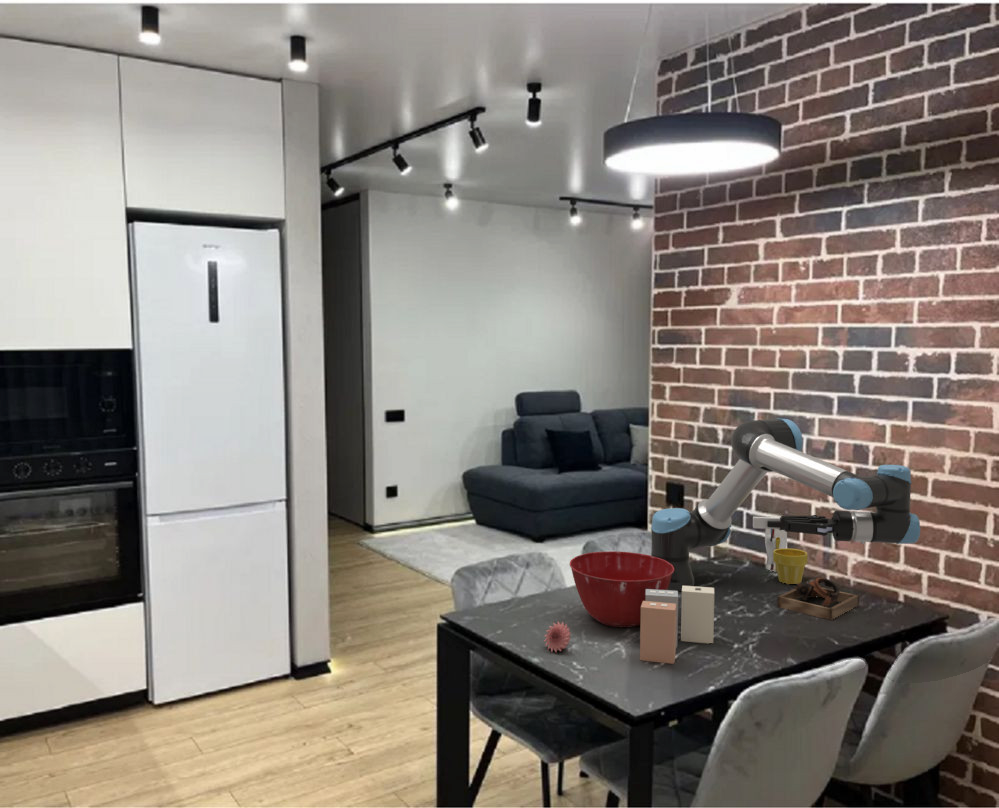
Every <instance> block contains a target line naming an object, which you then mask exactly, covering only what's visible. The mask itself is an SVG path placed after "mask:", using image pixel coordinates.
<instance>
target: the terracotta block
mask: <svg viewBox="0 0 999 808" xmlns="http://www.w3.org/2000/svg"><path fill="white" fill-rule="evenodd" d="M639 626H640V627H639V629H640V630H639V631H640V632H639V634H640V635H639V636H640V637H639V639H640V640H639V660H640V661H644V662H645V661H646V662H652V663H653V662H654V663H664V664H671V665H672V664H675V660H676V650H677V648H676V604H673V603H662V602H651V601H643V602H642V605H641V624H640V625H639Z"/></svg>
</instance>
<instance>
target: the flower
mask: <svg viewBox="0 0 999 808" xmlns="http://www.w3.org/2000/svg"><path fill="white" fill-rule="evenodd" d="M552 625H553V626H552ZM552 625H549V626H548V628H549V629H547V630H545V632H547V633H546V634H545V635H544V636H543V637H546V638H545V639H544V640H543V642H546V643H545V645H544V647H546V646H548V647H547V651H549V650H550V653H553V651H554V652H555V653H558V651H559V652H562V650H565V649H566V647H567V646H568V645H570V640H571V639H572V637H570V636H571V634H572V631H570V626H569V627H568V623H565V624H564V621H562V622H561V623H560V621H557V624H556V623H555V622H552Z"/></svg>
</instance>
